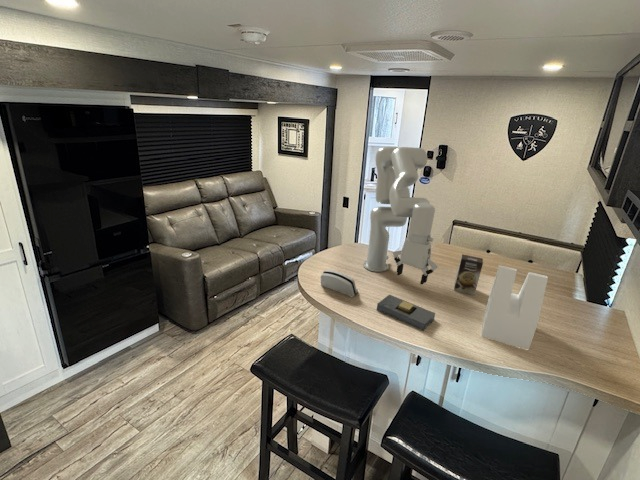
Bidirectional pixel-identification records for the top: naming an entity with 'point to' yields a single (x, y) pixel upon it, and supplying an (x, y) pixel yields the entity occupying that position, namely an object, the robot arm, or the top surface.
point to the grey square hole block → (417, 318)
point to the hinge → (338, 282)
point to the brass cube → (406, 307)
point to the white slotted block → (514, 308)
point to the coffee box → (468, 274)
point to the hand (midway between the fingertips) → (410, 278)
